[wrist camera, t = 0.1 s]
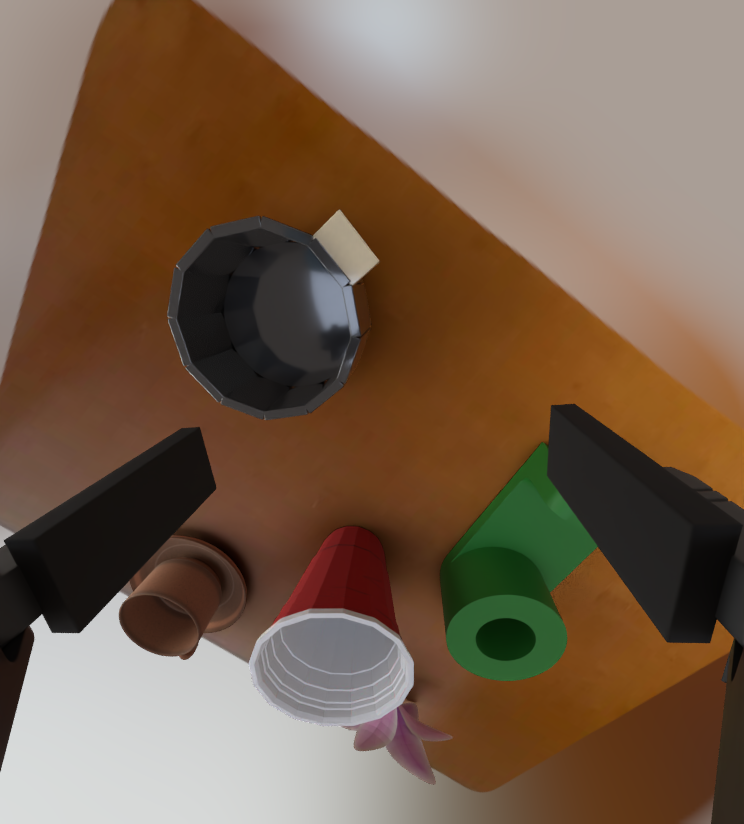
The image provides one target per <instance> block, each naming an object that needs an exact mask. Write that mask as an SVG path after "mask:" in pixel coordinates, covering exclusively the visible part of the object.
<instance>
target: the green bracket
mask: <svg viewBox="0 0 744 824" xmlns="http://www.w3.org/2000/svg"><path fill="white" fill-rule="evenodd" d="M548 448H549V446H548V445H546V444H545V443H543V442H542V443H541V444H540V445H539V447H538V448H537V449H536V450H535V451H534V453H533V454H532V455H531V456H530V457H529V459H528V460H527V461H526V462H525V463H524V464H523V466H522V467H521V468H520V469H519V470H518V472H517V473H516V474H515V475H514V476H513V478H512V479H511V480H510V481H509V482H508V483H507V485H506V486H505V487H504V488H503V489H502V491H501V492H500V493H499V494H498V495H497V497H496V498H495V499H494V500H493V501H492V503H491V504H490V505H489V506H488V507H487V508H486V510H485V511H484V512H483V513H482V514H481V516H480V517H479V518H478V519H477V520H476V522H475V523H474V524H473V525H472V526H471V527H470V529H469V530H468V531H467V532H466V533H465V535H464V536H463V537H462V538H461V539H460V541H459V542H458V543H457V544H456V545H455V546H454V548H453V549H452V550H451V551H450V552H449V554H448V555H447V556H446V558H445V559H444V561H443V563H442V565H441V569H440V584H441V593H442V603H443V613H444V622H445V632H446V642H447V646H448V649H449V652H450V653H451V655H452V657H453V658H454V659H455V660H456V662H457V663H458V664H460V665H461V666H462V667H463V668H465V669H466V670H468V671H469V672H471V673H473V674H475V675H478V676H481V677H484V678H487V679H492V680H500V681H514V680H522V679H526V678H530V677H533V676H536V675H538V674H541V673H543V672H544V671H546V670H548V669H549V668H551V667H552V666H553V665H554V664H555V663H556V662H557V661H558V660H559V659H560V658H561V656H562V655H563V653H564V651H565V648H566V644H567V632H566V628H565V625H564V623H563V621H562V619H561V617H560V614H559V612H558V610H557V608H556V606H555V603H554V601H553V599H552V597H551V595H550V592H551V591H552V590H553V589H554V588H555V587H556V586H557V585H558V584H559V583H560V582H561V581H562V580H564V579H565V578H566V577H567V576H568V575H569V574H570V573H571V572H572V571H573V570H574V569H575V568H576V567H577V566H578V565H579V564H580V563H581V562H582V561H583V560H584V559H585V558H586V557H587V556H588V555H590V554H591V553H592V552H593V551H594V550H595V549H596V548H597V547H598V546H597V544H596V543H595V542H594V540H593V539H592V538H591V536H590V535H589V533H588V532H587V531H586V529H585V528H584V526H583V525H582V524H581V522H580V521H579V520H578V518H577V517H576V515H575V514H574V513H573V511H572V510H571V508H570V507H569V506H568V504H567V503H566V502H565V500H564V499H563V497H562V496H561V495H560V493H559V492H558V490H557V489H556V488H555V486H554V485H553V484H552V482H551V481H550V479H549V478H548V477H547V463H548Z"/></svg>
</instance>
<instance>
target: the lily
mask: <svg viewBox="0 0 744 824" xmlns="http://www.w3.org/2000/svg"><path fill="white" fill-rule="evenodd" d="M341 727H343V728H346V729H349V730H355V731H357V732H356V736H355V740H354V748H355V749H356V750H358V751H369V750H375V749H379V748H382V747H384V746H386V748H387V750H388V751H389V753H390V754H391V756H392V757H393V758H394V759H395V760H396V761H397V762H398V763H399V764H400V765H401V766H402V767H404V768H405V769H406V770H408V771H409V772H410V773H412V774H413V775H415V776H416V777H418V778H419V779H421V780H423V781H425V782H427V783H429V784H433V785H434V784H435V782H436V781H435V777H434V775H433V772H432V769H431V767H430V764H429V761H428V758H427V755H426V752H425V750H424V747H423V744H422V741H421V739H422V740H425V741H444V740H449V739H452V738H453V737H452V736H451V735H449V734H446V733H444V732H442V731H439V730H437V729H435V728H433V727H430V726H428V725H426V724H424V723H422V722H420V721H419V719H418V708H417V705H416V704H415V703H412V702H411V703H404V704H401V705H400V706H398V707H397V708H395V709H394V710H392V711H391V712H389V713H388V714H386V715H384V716H383V717H381V718H380V719H376V720H373V721H369V722H365V723H362V724H358V725H354V726H341Z"/></svg>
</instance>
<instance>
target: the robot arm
mask: <svg viewBox="0 0 744 824" xmlns="http://www.w3.org/2000/svg"><path fill="white" fill-rule="evenodd" d="M547 477H548V478H549V479H550V481H551V482H552V484H553V485H554V486H555V488H556V489H557V490H558V492H559V493H560V495H561V496H562V497H563V499H564V500H565V502H566V503H567V504H568V506H569V507H570V508H571V510H572V511H573V513H574V514H575V515H576V517H577V518H578V520H579V521H580V522H581V524H582V525H583V526H584V528H585V529H586V531H587V532H588V533H589V535H590V536H591V538H592V539H593V540H594V542H595V543H596V544H597V546H598V547H599V549H600V550H601V551H602V553H603V554H604V556H605V557H606V558H607V560H608V561H609V562H610V564H611V565H612V567H613V568H614V569H615V571H616V572H617V574H618V575H619V576H620V578H621V579H622V580H623V582H624V583H625V585H626V586H627V587H628V589H629V590H630V592H631V593H632V594H633V596H634V597H635V599H636V600H637V601H638V603H639V604H640V605H641V607H642V608H643V610H644V611H645V612H646V614H647V615H648V617H649V618H650V619H651V621H652V622H653V623H654V625H655V626H656V628H657V629H658V630H659V632H660V633H661V635H662V636H663V637H664V639H665V640H666V641H667V642H670V643H710V641H711V638H712V634H713V631H714V627H715V623H716V620H718V621H719V622H720V623H721V624H722V625H723V626H724V627H725V628H726V629H727V630H728V632H729V633H730V634H731V635H732V636H733V637H734V641H733V644H732V647H731V650H730V654H729V657H728V661H727V664H726V667H725V670H724V673H723V677H722V681H723V682H725V683H727V685H726V694H725V703H724V712H723V721H722V730H721V739H720V748H719V757H718V766H717V775H716V785H715V794H714V802H713V812H712V820H711V824H744V509H742V508H741V507H739V506H738V505H736V504H735V503H733V502H732V501H728V499H727V498H726V497H724V496H723V495H721V494H720V493H718V492H717V491H713V490H712V488H711V487H709V486H708V485H706V484H705V483H703V482H702V481H701V480H699V479H698V478H696V477H694V476H692V475H690V474H687V473H685V472H682V471H680V470H677V469H675V468H672V467H662V466H660V465H659V464H658V463H656V462H655V461H653V460H652V459H651V458H649V457H648V456H646V455H645V454H644V453H642V452H641V451H639V450H638V449H637V448H635V447H634V446H632V445H631V444H630V443H628V442H627V441H626V440H624V439H623V438H621V437H620V436H619V435H617V434H616V433H614V432H613V431H612V430H610V429H609V428H607V427H606V426H605V425H603V424H602V423H600V422H599V421H598V420H596V419H595V418H594V417H592V416H591V415H589V414H588V413H587V412H585V411H584V410H582V409H581V408H580V407H578V406H577V405H575V404H565V405H551V417H550V432H549V448H548V463H547ZM215 490H216V484H215V481H214V477H213V473H212V470H211V466H210V463H209V459H208V455H207V452H206V448H205V444H204V441H203V437H202V434H201V430H200V427H195V428H181V429H180V430H178V431H177V432H175V433H173V434H172V435H170V436H169V437H167V438H166V439H164V440H162V441H161V442H159V443H158V444H156V445H154V446H153V447H151V448H150V449H148V450H147V451H145V452H143V453H142V454H140V455H139V456H137V457H135V458H134V459H132V460H131V461H129V462H127V463H126V464H124V465H123V466H121V467H120V468H118V469H116V470H115V471H113V472H112V473H110V474H108V475H107V476H105V477H104V478H102V479H101V480H99V481H97V482H96V483H94V484H93V485H91V486H89V487H88V488H86V489H85V490H83V491H81V492H80V493H78V494H77V495H75V496H74V497H72V498H70V499H69V500H67V501H66V502H64V503H62V504H61V505H59V506H58V507H56V508H55V509H53V510H51V511H50V512H48V513H47V514H45V515H43V516H42V517H40V518H39V519H37V520H35V521H34V522H32V523H31V524H29V525H28V526H26V527H24V528H23V529H21V530H20V531H18V532H16V533H15V534H13V535H12V536H10V537H9V538H7V539H5V540H4V542H5V544H6V545H4V546H3V547H1V548H0V771H1V767H2V763H3V759H4V755H5V752H6V748H7V744H8V740H9V736H10V732H11V728H12V724H13V720H14V717H15V712H16V709H17V704H18V701H19V697H20V693H21V689H22V686H23V681H24V678H25V674H26V670H27V666H28V662H29V658H30V654H31V651H32V646H33V642H34V633H33V631H32V630H31V628H30V626H29V625H30V624H31V623H33V622H34V621H35V620H36V619H37V618H38V617H39V616H40V615H41V614H43V616H44V618H45V620H46V622H47V624H48V626H49V628H50V630H51V631H52V633H80V632H81V631H82V630H83V629H84V628H85V627H86V626H87V625H88V624H89V623H90V621H92V619H93V618H94V617H95V616H96V615H97V614H98V613H99V612H100V611H101V610H102V609H103V608H104V607H105V606H106V604H108V603H109V601H110V600H111V599H112V598H113V597H114V596H115V595H116V594H117V593H118V592H119V591H120V590H121V589H122V588H123V587H124V586H125V585H126V584H127V583H128V581H129V580H130V579H131V578H132V577H133V576H134V575H135V574H136V573H137V572H138V571H139V570H140V569H141V568H142V567H143V566H144V565H145V564H146V562H147V561H148V560H149V559H150V558H151V557H152V556H153V555H154V554H155V553H156V552H157V551H158V550H159V549H160V548H161V547H162V546H163V544H164V543H165V542H166V541H167V540H168V539H169V538H170V537H171V536H172V535H173V534H174V533H175V532H176V531H177V530H178V529H179V528H180V527H181V525H182V524H183V523H184V522H185V521H186V520H187V519H188V518H189V517H190V516H191V515H192V514H193V513H194V512H195V511H196V510H197V509H198V508H199V506H200V505H201V504H202V503H203V502H204V501H205V500H206V499H207V498H208V497H209V496H210V495H211V494H212V493H213V492H214V491H215Z"/></svg>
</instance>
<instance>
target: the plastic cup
mask: <svg viewBox="0 0 744 824" xmlns="http://www.w3.org/2000/svg"><path fill="white" fill-rule="evenodd" d="M249 667H250V672H251V676H252V680H253V685H254V687H255V688H256V689H257V690H258V691H259V693H260V694H261V695H262V696H263V697H264V698H265V700H266V701H267V702H268V703H269V705H271V706H273V707H274V708H276V709H278V710H280V711H282V712H283V713H285V714H286V715H288V716H290V717H292V718H293V719H297V720H301V721H305V722H309V723H313V724H317V725H320V726H354V725H358V724H362V723H365V722H369V721H373V720H376V719H380V718H381V717H383V716H384V715H386V714H388V713H389V712H391V711H392V710H394V709H395V708H397V707H398V706H400V705H401V704H402V703H403V701H404V699H405V698H406V696H407V695H408V693H409V691H410V690H411V688H412V687H413V685H414V662H413V659H412V657H411V655H410V653H409V651H408V650H407V648H406V646H405V645H404V643H403V641H402V638H401V636H400V634H399V629H398V625H397V623H396V619H395V613H394V606H393V600H392V594H391V588H390V581H389V575H388V572H387V569H386V561H385V553H384V550H383V547H382V545H381V543H380V541H379V539H378V538H377V537H376V536H375V535H374V534H373V533H371V532H370V531H369V530H366V529H363V528H361V527H357V526H345V527H342V528H339V529H336V530H335V531H334V532H333V533H331V534H330V535H329V536H328V538H326V539H325V541H324V542H323V544H322V546H321V547H320V549H319V551H318V552H317V554H316V556H314V557H313V559H312V560H311V562H310V564H309V566H308V567H307V569H306V571H305V572H304V574H303V576H302V578H301V579H300V581H299V583H298V584H297V586H296V588H295V589H294V591H293V593H292V595H291V596H290V598H289V600H288V601H287V603H286V604H285V605H284V606H283V608H282V610H281V612H280V614H279V615H278V617H276V618H275V620H274V622H273V624H272V626H271V627H270V628H269V629H268V630H267V631H265V632H264V633H263V634H262V635H261V636H260V637H259V639H258V640H257V642H256V645H255V648H254V650H253V653H252V656H251V658H250V661H249Z"/></svg>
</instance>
